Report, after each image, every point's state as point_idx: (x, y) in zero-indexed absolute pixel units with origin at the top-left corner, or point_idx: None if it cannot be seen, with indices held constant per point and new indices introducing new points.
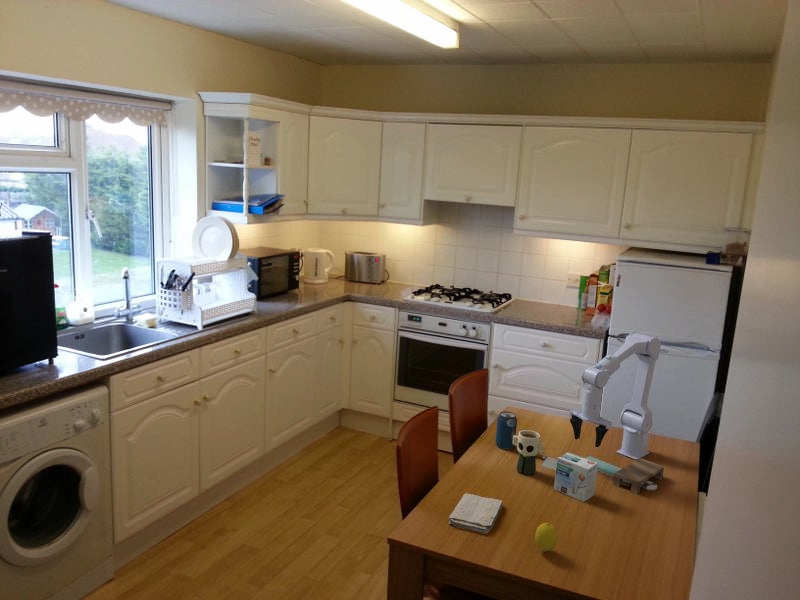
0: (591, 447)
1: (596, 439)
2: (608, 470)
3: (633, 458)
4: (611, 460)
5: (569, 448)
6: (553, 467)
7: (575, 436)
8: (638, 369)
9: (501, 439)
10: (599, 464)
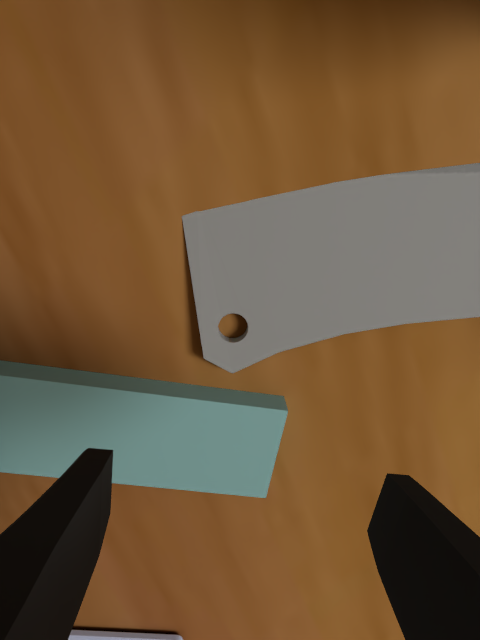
0: (308, 607)
1: (50, 527)
2: (73, 394)
3: (79, 631)
4: (159, 549)
5: None
6: (419, 199)
7: (422, 499)
8: None
9: None
10: (163, 435)
